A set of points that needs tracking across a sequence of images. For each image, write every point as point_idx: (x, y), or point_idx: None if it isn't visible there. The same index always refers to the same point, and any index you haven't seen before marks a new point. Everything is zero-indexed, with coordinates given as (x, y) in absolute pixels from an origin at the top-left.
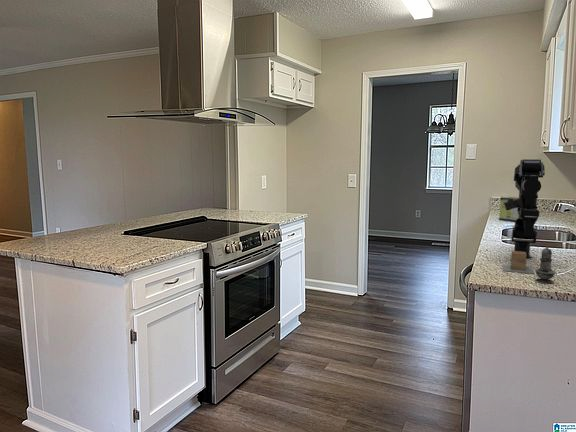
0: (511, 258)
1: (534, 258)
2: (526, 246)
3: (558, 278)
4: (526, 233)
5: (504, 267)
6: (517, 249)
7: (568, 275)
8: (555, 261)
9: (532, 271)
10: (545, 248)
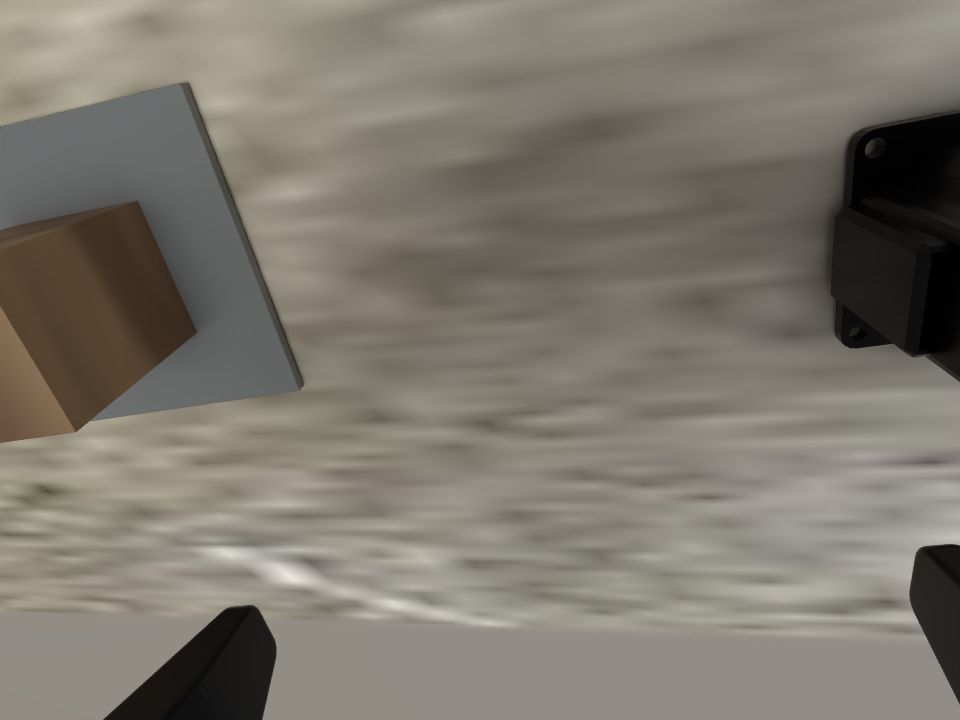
0: (14, 237)
1: (879, 371)
2: (938, 356)
3: (93, 556)
4: (227, 628)
5: (36, 142)
6: (956, 199)
7: None
8: (788, 541)
9: (108, 406)
10: None
